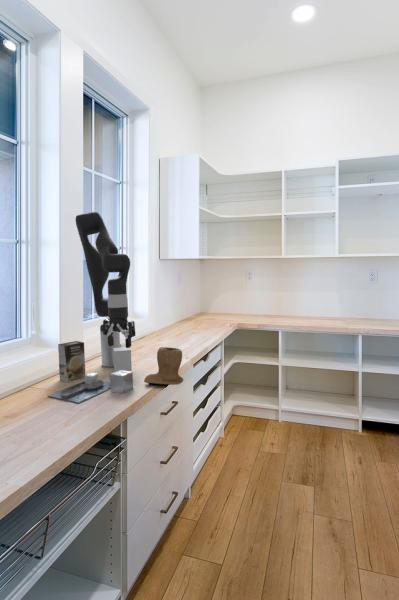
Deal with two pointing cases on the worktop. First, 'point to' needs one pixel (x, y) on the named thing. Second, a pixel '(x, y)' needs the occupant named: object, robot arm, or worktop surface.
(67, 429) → the worktop surface
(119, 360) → the supplement box
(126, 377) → the brushed steel cube
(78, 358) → the coffee box
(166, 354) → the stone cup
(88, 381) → the grey base plate
